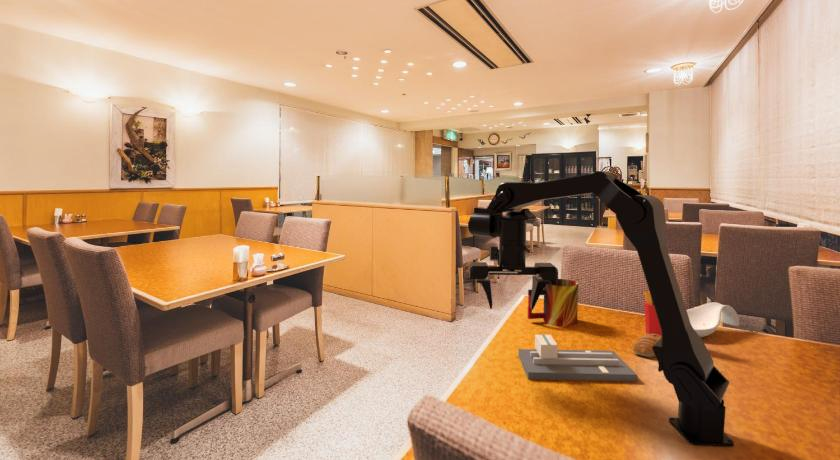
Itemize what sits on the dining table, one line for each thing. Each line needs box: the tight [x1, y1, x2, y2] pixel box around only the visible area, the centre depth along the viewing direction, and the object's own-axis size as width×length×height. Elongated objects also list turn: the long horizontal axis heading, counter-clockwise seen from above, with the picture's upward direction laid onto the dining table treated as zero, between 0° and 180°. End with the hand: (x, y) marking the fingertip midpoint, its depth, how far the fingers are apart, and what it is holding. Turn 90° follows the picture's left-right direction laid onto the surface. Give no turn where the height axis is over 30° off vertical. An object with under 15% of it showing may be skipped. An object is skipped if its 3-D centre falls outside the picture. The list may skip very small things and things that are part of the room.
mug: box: [527, 278, 579, 328], centre depth 116 cm, size 10×14×12 cm
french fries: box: [643, 290, 662, 336], centre depth 100 cm, size 9×4×13 cm, turn 33°
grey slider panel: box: [517, 348, 638, 383], centre depth 87 cm, size 12×22×3 cm, turn 85°
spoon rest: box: [686, 301, 740, 338], centre depth 108 cm, size 24×12×7 cm, turn 113°
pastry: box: [633, 333, 662, 358], centre depth 94 cm, size 9×7×4 cm
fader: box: [534, 334, 559, 359], centre depth 87 cm, size 6×4×5 cm, turn 175°
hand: (511, 308), depth 87 cm, fingers open, 9 cm apart
